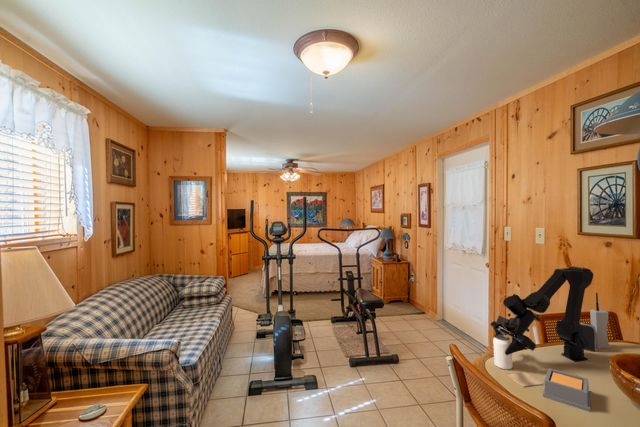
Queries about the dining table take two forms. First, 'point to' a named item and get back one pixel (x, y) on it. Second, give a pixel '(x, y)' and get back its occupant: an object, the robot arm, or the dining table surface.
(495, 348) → the can
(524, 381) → the tan wavy cloth
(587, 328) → the battery
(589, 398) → the grey open box
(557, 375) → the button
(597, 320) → the vintage mobile phone
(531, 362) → the dining table surface
